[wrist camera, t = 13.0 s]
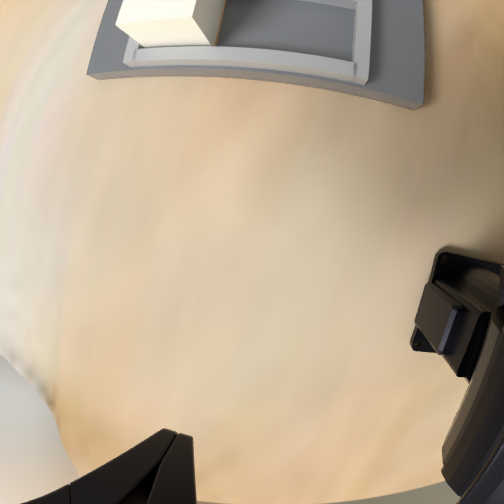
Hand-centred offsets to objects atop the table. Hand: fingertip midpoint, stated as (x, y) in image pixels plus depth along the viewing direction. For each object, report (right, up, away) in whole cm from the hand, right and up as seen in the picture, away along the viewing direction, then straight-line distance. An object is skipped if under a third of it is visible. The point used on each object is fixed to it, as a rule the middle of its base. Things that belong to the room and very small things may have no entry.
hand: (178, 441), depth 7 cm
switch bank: (+3, +23, +7) cm, 24 cm away
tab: (-2, +18, +7) cm, 20 cm away
